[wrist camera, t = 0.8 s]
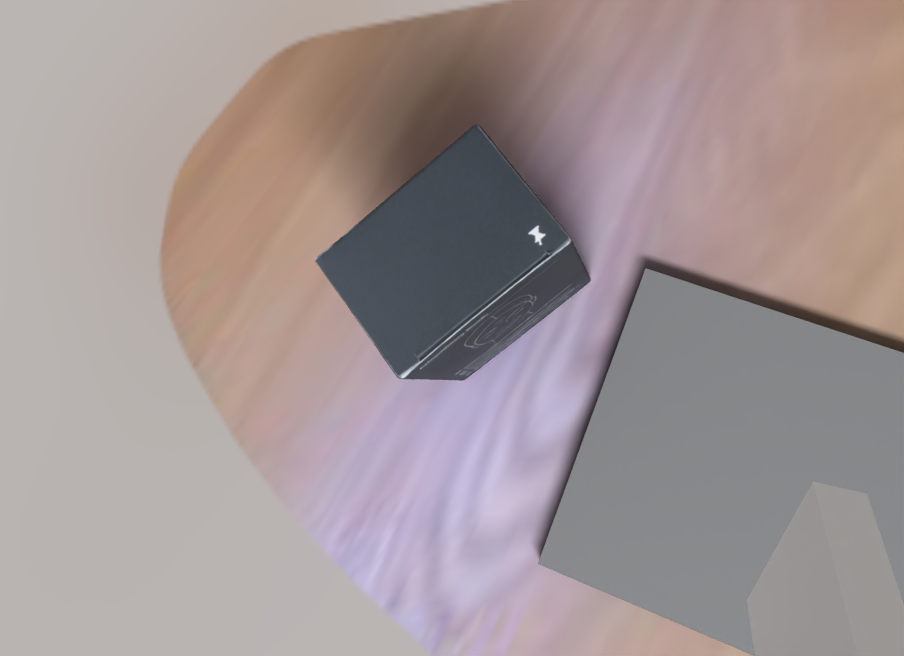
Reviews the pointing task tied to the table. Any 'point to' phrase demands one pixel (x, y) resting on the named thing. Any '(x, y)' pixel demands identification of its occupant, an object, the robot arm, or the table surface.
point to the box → (454, 264)
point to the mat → (723, 452)
